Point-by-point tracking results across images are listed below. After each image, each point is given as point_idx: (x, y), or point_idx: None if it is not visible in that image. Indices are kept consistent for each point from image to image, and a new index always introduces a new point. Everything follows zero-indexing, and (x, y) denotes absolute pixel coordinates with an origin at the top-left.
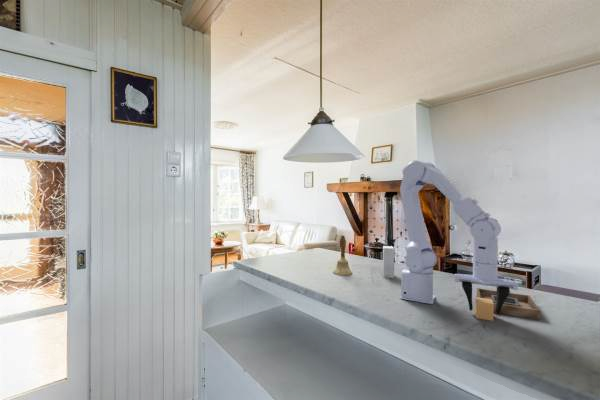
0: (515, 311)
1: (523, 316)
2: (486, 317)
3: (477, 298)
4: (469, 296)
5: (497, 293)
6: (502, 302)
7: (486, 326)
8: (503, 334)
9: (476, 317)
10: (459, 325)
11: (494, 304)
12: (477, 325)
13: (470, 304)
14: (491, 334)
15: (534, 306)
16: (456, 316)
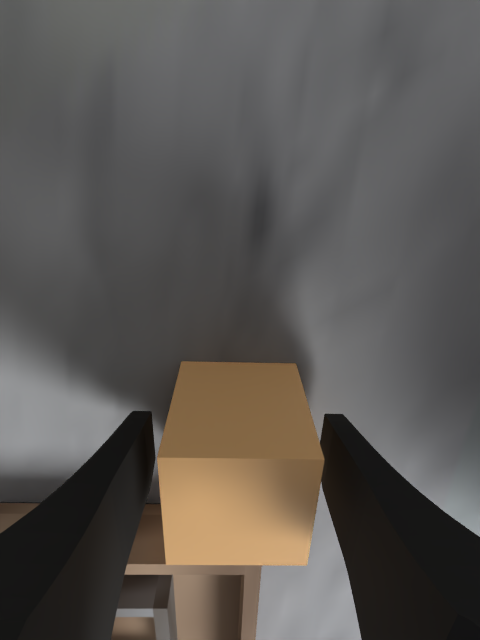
0: None
1: (5, 506)
2: (225, 371)
3: (296, 539)
4: (404, 503)
5: (93, 631)
6: (63, 492)
7: (239, 213)
8: (115, 86)
9: (292, 364)
10: (469, 108)
11: (158, 556)
12: (308, 197)
13: (357, 441)
14: (214, 18)
15: None
16: (440, 316)
